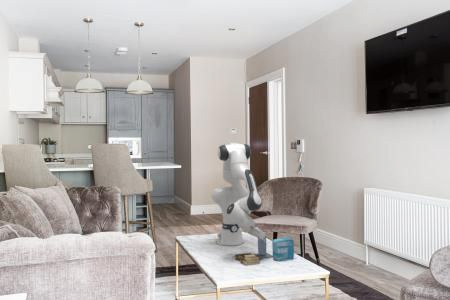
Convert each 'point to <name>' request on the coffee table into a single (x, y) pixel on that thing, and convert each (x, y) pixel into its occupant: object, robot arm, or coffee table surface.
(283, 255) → the data package
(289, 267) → the coffee table surface
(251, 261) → the offcut stack
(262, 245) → the pale blue pillar
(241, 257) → the rack
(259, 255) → the felt mat
